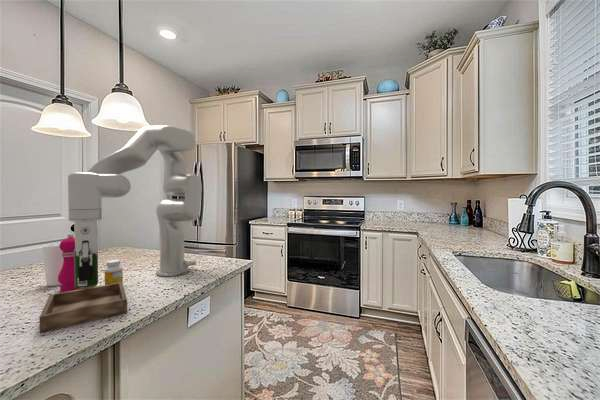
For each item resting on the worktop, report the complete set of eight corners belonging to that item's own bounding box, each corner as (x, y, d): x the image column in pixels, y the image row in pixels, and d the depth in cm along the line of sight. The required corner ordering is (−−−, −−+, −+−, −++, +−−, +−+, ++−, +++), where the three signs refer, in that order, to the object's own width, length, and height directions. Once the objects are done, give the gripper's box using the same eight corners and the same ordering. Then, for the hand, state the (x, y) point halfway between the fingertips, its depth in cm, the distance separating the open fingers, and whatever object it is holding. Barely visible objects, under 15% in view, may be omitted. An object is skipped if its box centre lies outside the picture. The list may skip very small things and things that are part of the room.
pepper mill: (69, 293, 91) (68, 235, 90) (52, 292, 92) (51, 234, 91) (90, 286, 98) (88, 232, 97) (74, 285, 99) (72, 231, 99)
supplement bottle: (102, 288, 96) (101, 261, 96) (119, 284, 100) (118, 258, 100) (108, 291, 93) (107, 263, 92) (125, 286, 97) (125, 260, 97)
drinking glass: (54, 281, 103) (53, 242, 102) (73, 281, 103) (72, 242, 103) (38, 287, 96) (37, 246, 96) (58, 287, 97) (57, 246, 96)
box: (122, 293, 91) (122, 282, 90) (127, 313, 76) (126, 299, 76) (50, 307, 80) (49, 294, 80) (39, 333, 65) (39, 317, 65)
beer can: (95, 288, 76) (95, 246, 76) (71, 291, 74) (71, 248, 74) (100, 282, 81) (99, 243, 81) (78, 285, 79) (77, 244, 79)
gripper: (102, 216, 73) (103, 282, 73) (101, 213, 86) (102, 268, 87) (65, 218, 68) (66, 288, 68) (71, 214, 82) (71, 272, 82)
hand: (86, 276), depth 78 cm, fingers closed on beer can, 5 cm apart
